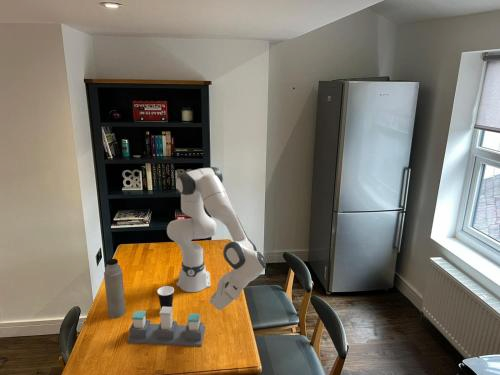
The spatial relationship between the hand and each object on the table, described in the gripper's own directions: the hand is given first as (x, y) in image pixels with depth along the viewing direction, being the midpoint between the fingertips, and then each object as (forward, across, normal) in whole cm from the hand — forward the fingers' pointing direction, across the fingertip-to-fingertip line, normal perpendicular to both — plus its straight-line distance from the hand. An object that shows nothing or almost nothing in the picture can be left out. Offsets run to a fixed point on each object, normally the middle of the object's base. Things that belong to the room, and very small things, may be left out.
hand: (211, 301), depth 156 cm
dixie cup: (+31, -18, -4) cm, 36 cm away
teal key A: (+34, 0, -10) cm, 36 cm away
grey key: (+24, 0, -4) cm, 24 cm away
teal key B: (+18, 0, +7) cm, 19 cm away
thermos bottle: (+47, -14, -20) cm, 53 cm away
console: (+27, 0, -1) cm, 27 cm away
